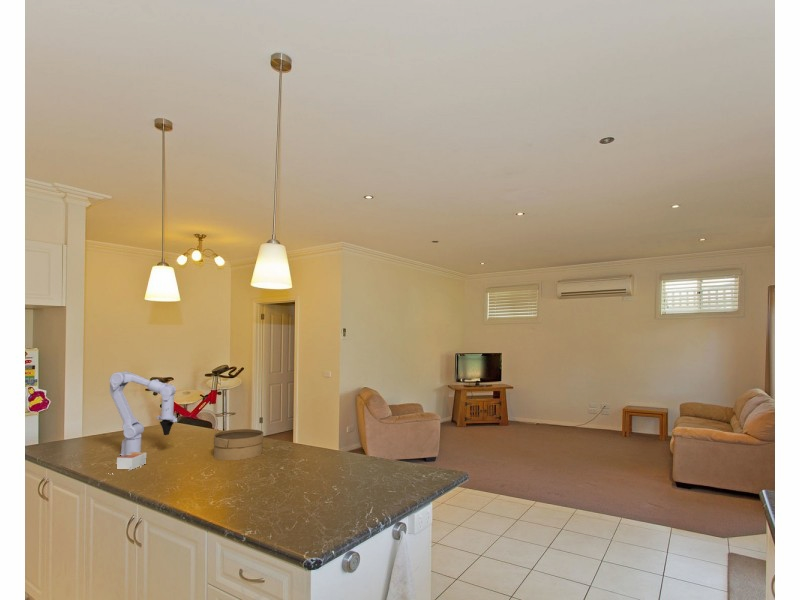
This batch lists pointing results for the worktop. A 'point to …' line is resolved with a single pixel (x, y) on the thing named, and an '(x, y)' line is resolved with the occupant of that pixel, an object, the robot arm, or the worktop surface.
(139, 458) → the small box
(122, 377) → the robot arm
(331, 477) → the worktop surface
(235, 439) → the steamer basket
